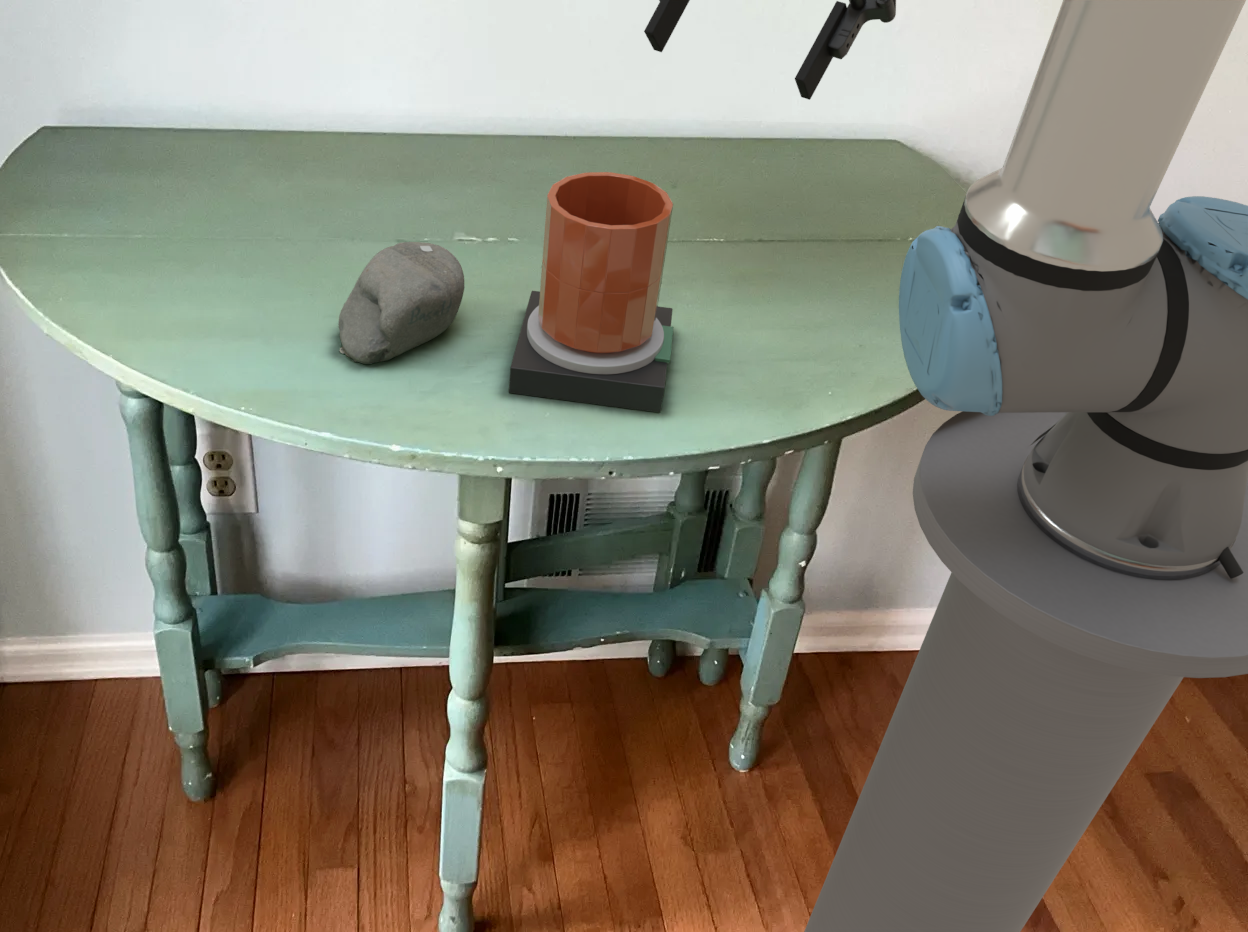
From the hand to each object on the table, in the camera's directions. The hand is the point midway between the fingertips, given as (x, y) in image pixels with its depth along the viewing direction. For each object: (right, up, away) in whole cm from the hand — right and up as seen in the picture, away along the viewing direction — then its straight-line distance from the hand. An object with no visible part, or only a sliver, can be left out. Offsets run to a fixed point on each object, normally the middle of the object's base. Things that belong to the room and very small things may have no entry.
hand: (724, 65), depth 93 cm
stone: (-26, -20, +6) cm, 33 cm away
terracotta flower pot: (-10, -20, +2) cm, 22 cm away
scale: (-10, -23, +4) cm, 25 cm away
